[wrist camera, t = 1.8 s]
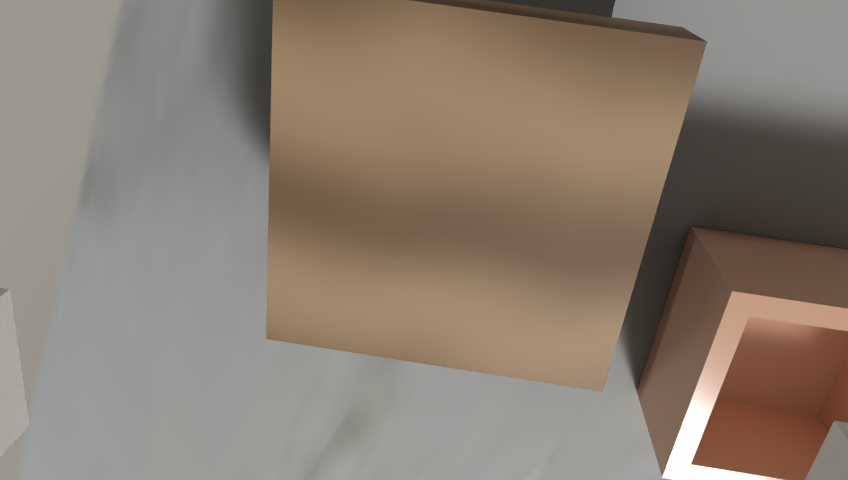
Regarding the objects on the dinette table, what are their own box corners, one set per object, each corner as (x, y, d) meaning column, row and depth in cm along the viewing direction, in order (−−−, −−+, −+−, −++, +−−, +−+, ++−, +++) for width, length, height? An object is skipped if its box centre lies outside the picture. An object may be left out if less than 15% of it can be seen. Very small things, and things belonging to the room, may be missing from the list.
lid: (299, -27, 19) (272, -19, 17) (681, 27, 19) (706, 41, 17) (287, 299, 24) (266, 338, 22) (592, 346, 24) (602, 391, 22)
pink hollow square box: (690, 226, 26) (732, 291, 21) (902, 257, 25) (989, 329, 21) (636, 391, 29) (662, 477, 25) (821, 420, 29) (881, 512, 24)
